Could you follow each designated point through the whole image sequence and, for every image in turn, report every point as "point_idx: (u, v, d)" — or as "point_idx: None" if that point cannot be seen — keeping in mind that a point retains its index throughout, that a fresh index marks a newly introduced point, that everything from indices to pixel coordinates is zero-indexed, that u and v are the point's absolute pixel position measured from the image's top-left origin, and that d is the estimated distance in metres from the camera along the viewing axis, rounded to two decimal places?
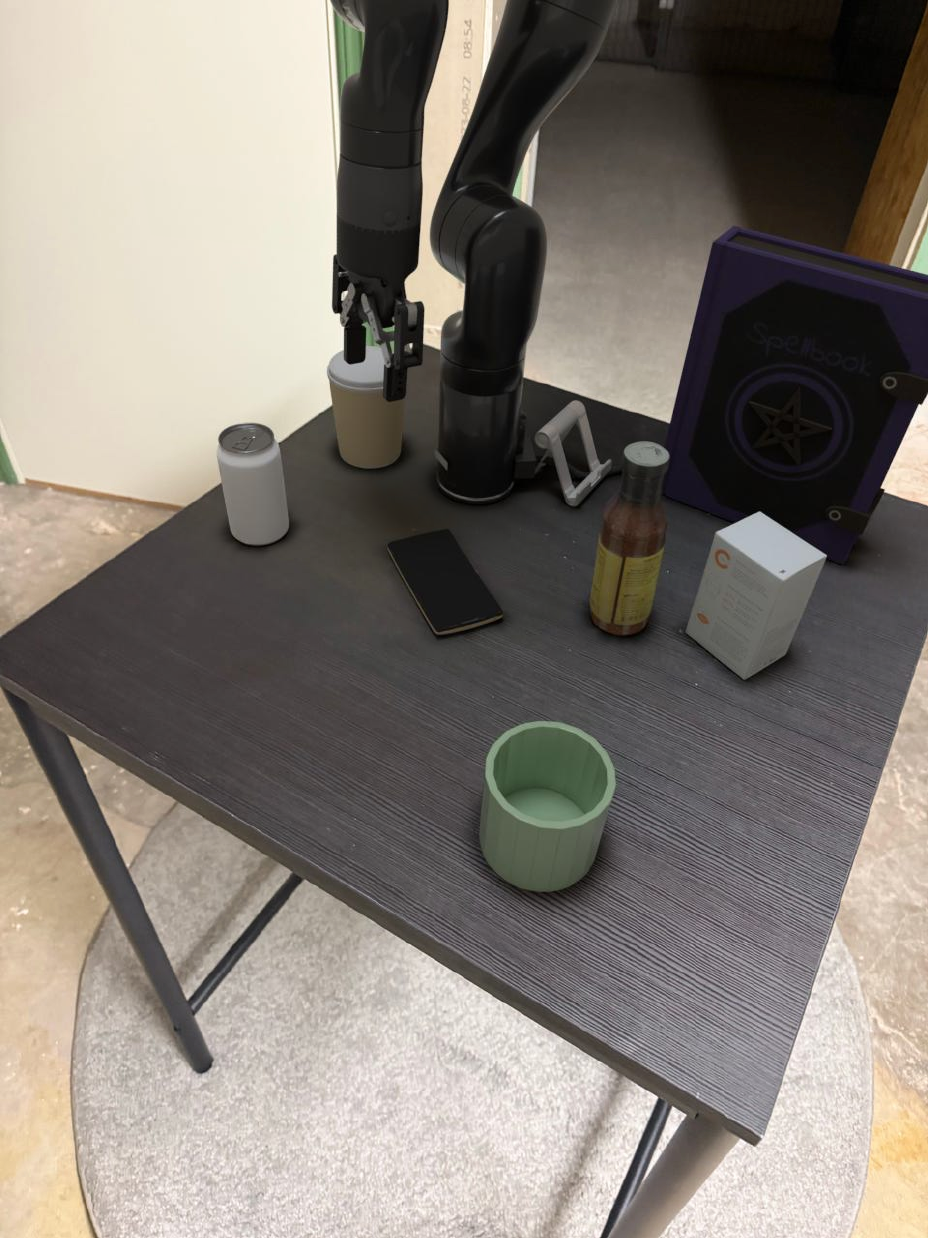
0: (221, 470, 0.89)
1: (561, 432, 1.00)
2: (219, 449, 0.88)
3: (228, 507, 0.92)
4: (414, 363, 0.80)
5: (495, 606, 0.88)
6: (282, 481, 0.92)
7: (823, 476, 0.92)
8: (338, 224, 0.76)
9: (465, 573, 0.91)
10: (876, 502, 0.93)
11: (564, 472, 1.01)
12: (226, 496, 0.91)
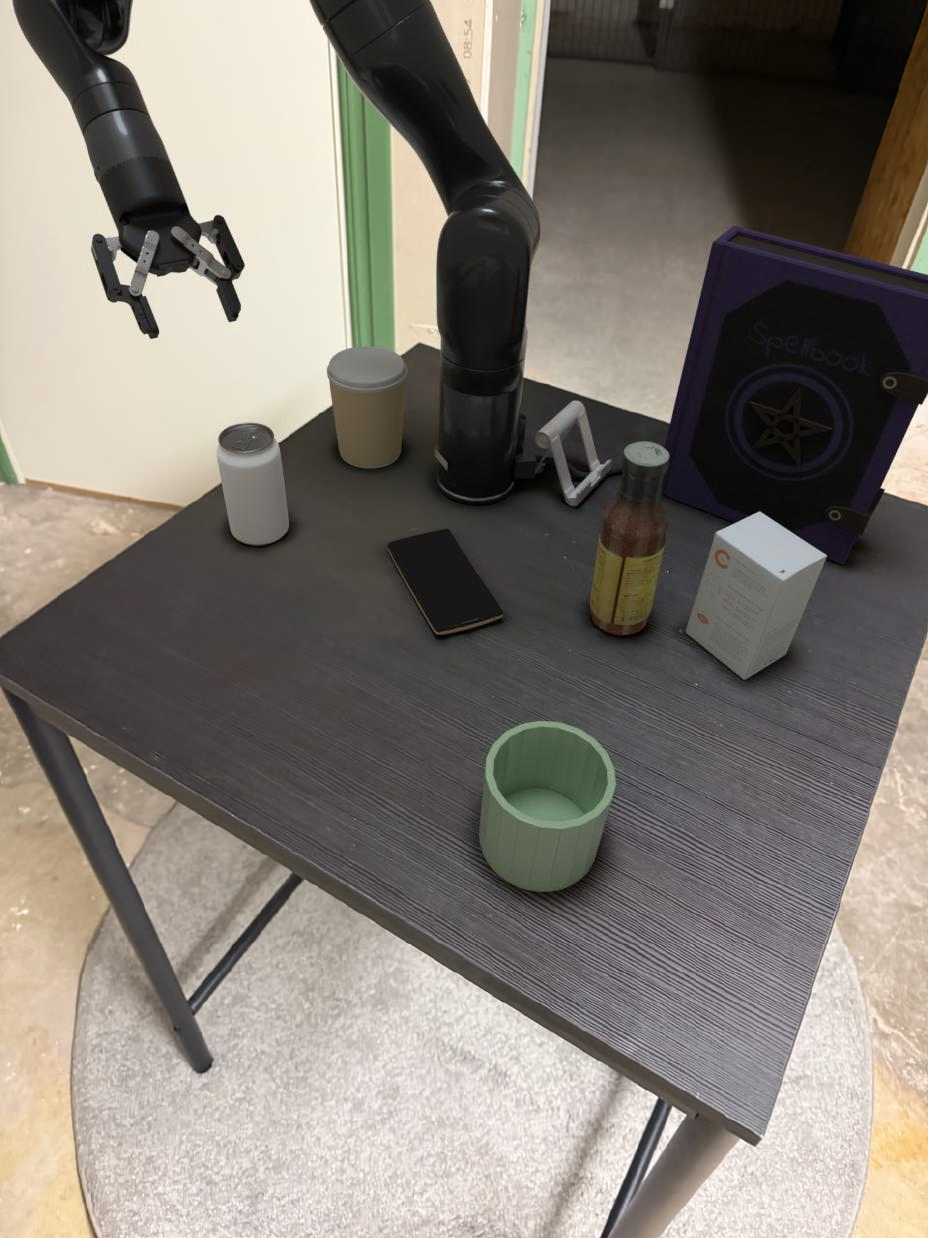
0: (221, 470, 0.89)
1: (561, 432, 1.00)
2: (219, 449, 0.88)
3: (228, 507, 0.92)
4: (108, 292, 0.86)
5: (495, 606, 0.88)
6: (282, 481, 0.92)
7: (823, 476, 0.92)
8: None
9: (465, 573, 0.91)
10: (876, 502, 0.93)
11: (564, 472, 1.01)
12: (226, 496, 0.91)
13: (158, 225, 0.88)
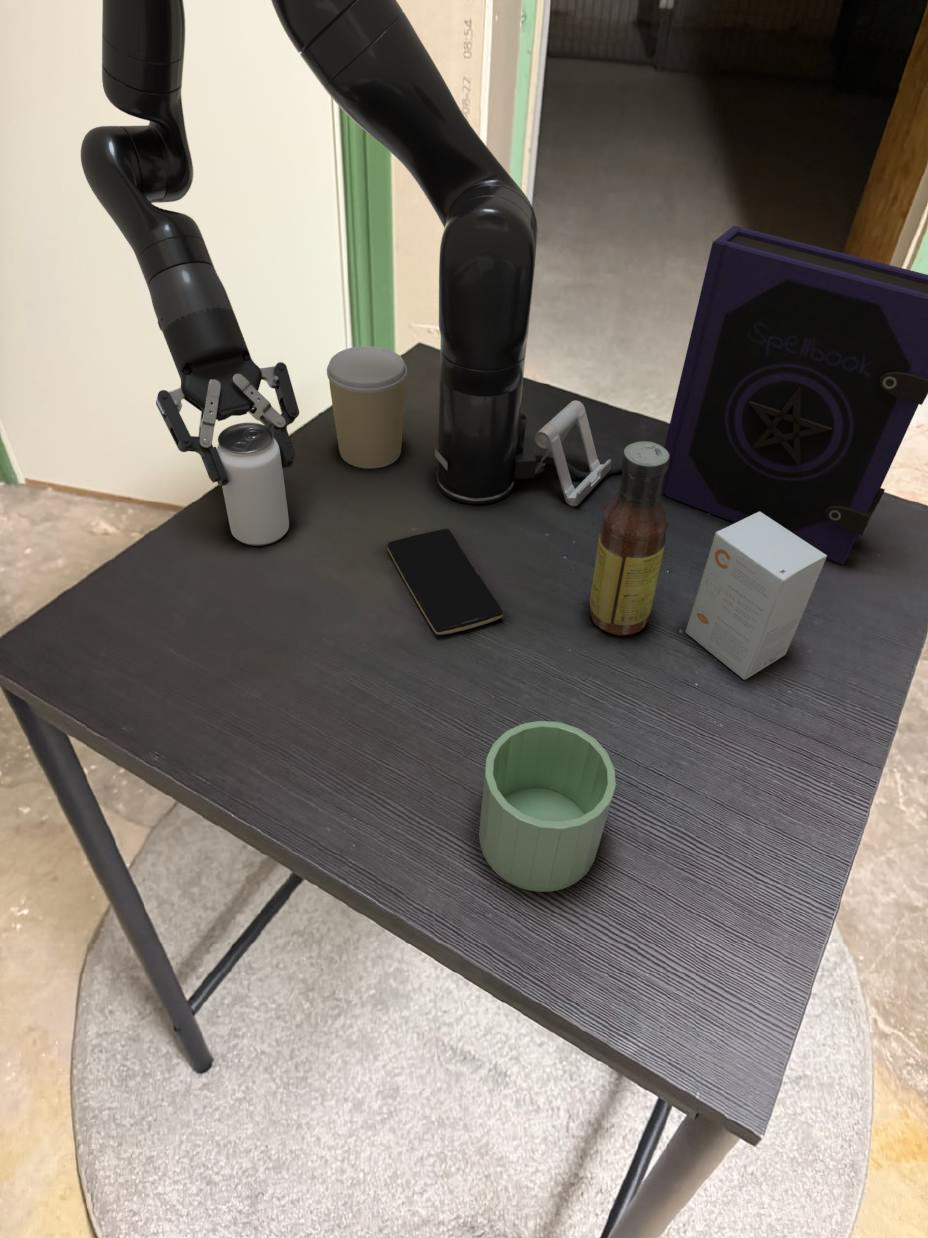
0: None
1: (561, 432, 1.00)
2: (219, 450, 0.88)
3: (228, 507, 0.92)
4: (179, 444, 0.87)
5: (495, 606, 0.88)
6: (282, 481, 0.92)
7: (823, 476, 0.92)
8: None
9: (465, 573, 0.91)
10: (876, 502, 0.93)
11: (564, 472, 1.01)
12: (226, 496, 0.91)
13: (220, 372, 0.88)
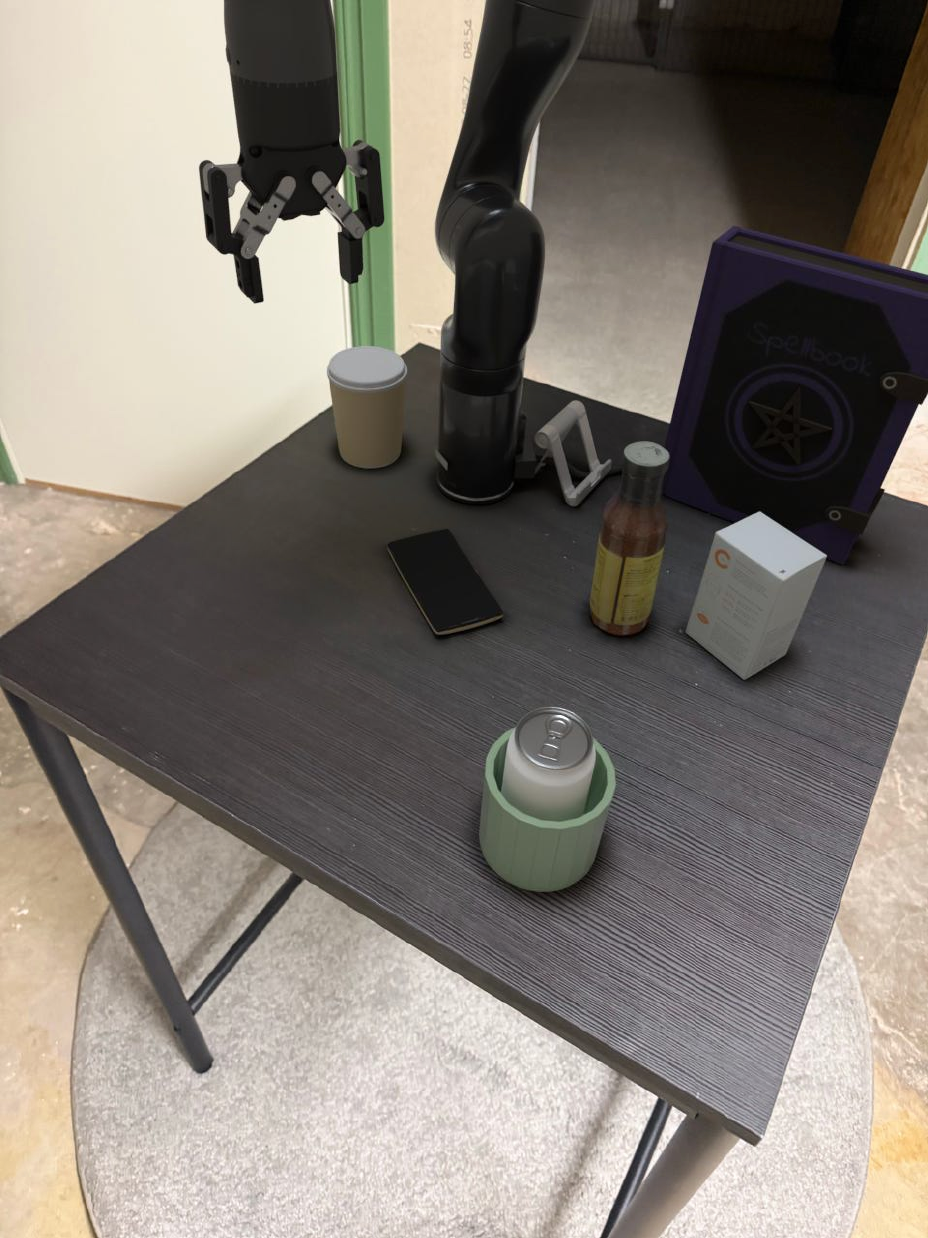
0: (515, 782, 0.62)
1: (561, 432, 1.00)
2: (518, 757, 0.61)
3: None
4: (213, 244, 0.66)
5: (495, 606, 0.88)
6: None
7: (823, 476, 0.92)
8: None
9: (465, 573, 0.91)
10: (876, 502, 0.93)
11: (564, 472, 1.01)
12: None
13: (296, 159, 0.65)
